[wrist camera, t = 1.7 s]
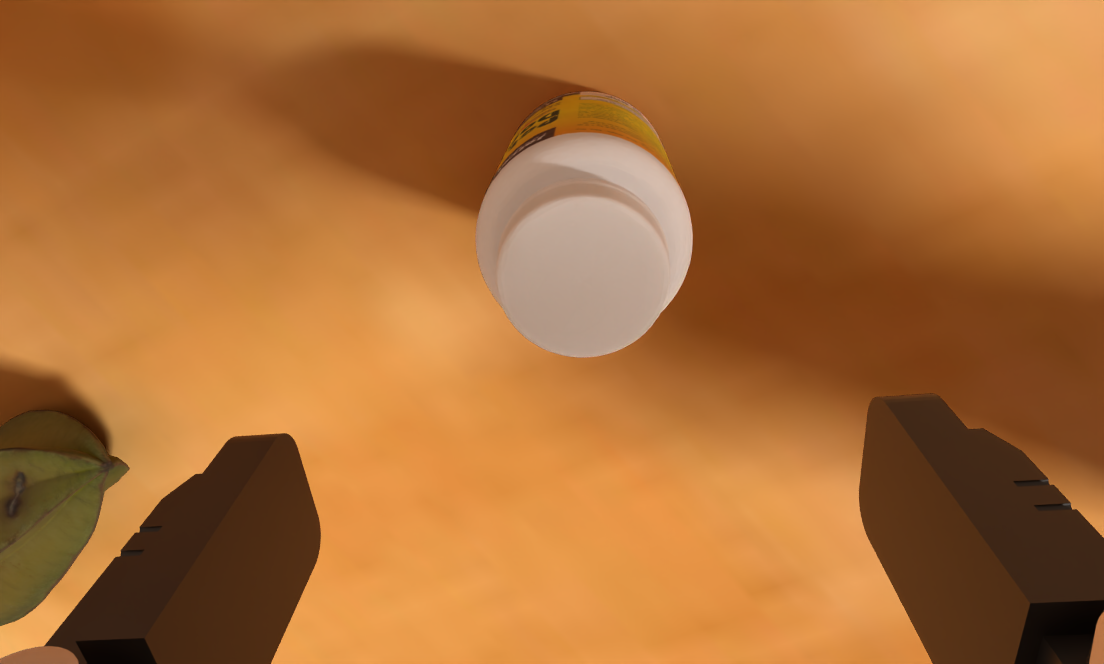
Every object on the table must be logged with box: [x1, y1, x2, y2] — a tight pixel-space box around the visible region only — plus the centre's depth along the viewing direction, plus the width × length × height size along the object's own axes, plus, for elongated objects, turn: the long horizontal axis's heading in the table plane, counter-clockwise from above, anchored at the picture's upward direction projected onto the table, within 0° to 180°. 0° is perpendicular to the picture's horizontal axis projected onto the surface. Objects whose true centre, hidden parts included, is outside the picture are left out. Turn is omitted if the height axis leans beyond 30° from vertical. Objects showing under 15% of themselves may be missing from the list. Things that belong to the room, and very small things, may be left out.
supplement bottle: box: [476, 92, 693, 358], centre depth 21 cm, size 6×6×10 cm
